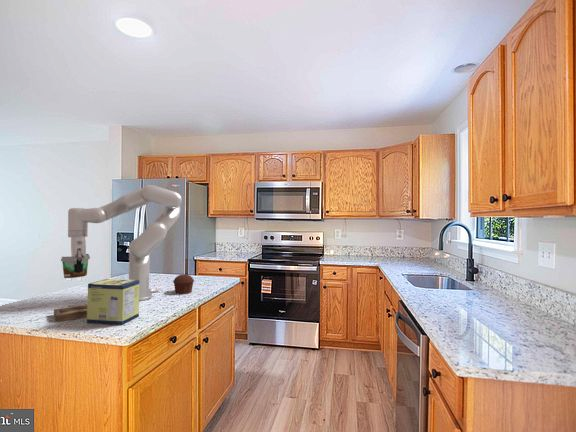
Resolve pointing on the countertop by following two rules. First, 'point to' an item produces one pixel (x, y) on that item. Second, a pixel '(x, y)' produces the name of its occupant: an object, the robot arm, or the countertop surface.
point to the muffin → (183, 284)
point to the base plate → (70, 313)
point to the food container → (69, 266)
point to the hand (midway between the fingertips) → (77, 271)
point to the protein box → (113, 301)
